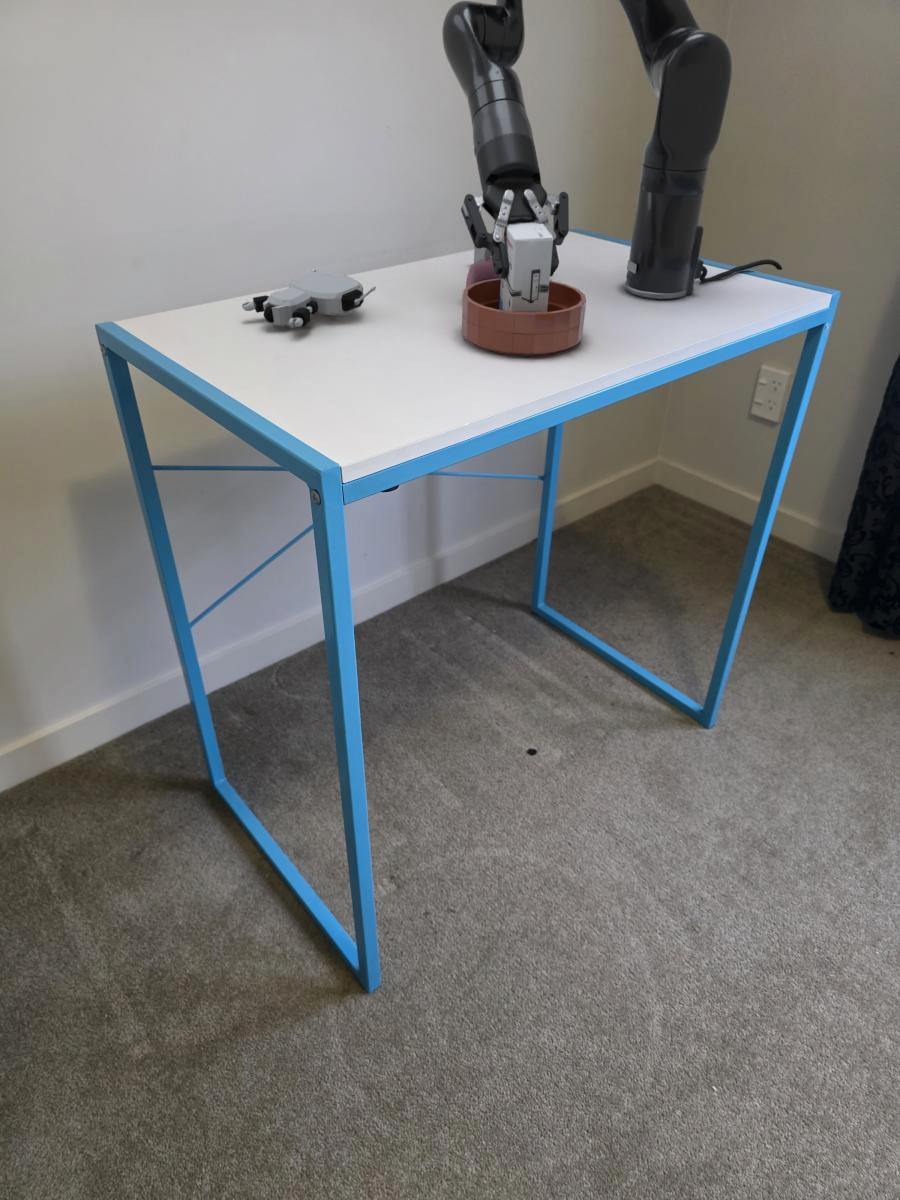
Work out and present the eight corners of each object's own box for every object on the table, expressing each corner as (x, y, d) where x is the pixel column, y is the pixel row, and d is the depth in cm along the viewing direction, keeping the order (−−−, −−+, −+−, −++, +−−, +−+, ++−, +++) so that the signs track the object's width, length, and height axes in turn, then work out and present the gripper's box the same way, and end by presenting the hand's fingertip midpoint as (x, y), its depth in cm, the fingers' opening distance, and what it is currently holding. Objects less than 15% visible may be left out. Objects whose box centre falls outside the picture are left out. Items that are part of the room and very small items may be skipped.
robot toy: (300, 348, 110) (381, 313, 119) (295, 313, 107) (378, 280, 116) (239, 326, 116) (320, 295, 125) (233, 293, 113) (316, 263, 122)
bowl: (556, 315, 121) (559, 274, 117) (599, 353, 108) (605, 309, 105) (448, 322, 117) (449, 280, 114) (481, 362, 105) (483, 317, 102)
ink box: (497, 314, 115) (501, 220, 108) (534, 313, 116) (540, 220, 109) (508, 336, 108) (513, 237, 101) (547, 335, 109) (554, 236, 102)
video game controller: (532, 310, 127) (536, 261, 126) (532, 305, 122) (536, 253, 121) (465, 307, 128) (468, 258, 126) (463, 301, 123) (466, 250, 122)
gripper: (456, 131, 104) (480, 260, 102) (567, 130, 107) (592, 255, 105) (444, 171, 111) (466, 293, 109) (549, 169, 114) (572, 287, 112)
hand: (528, 274), depth 107 cm, fingers closed on ink box, 5 cm apart
